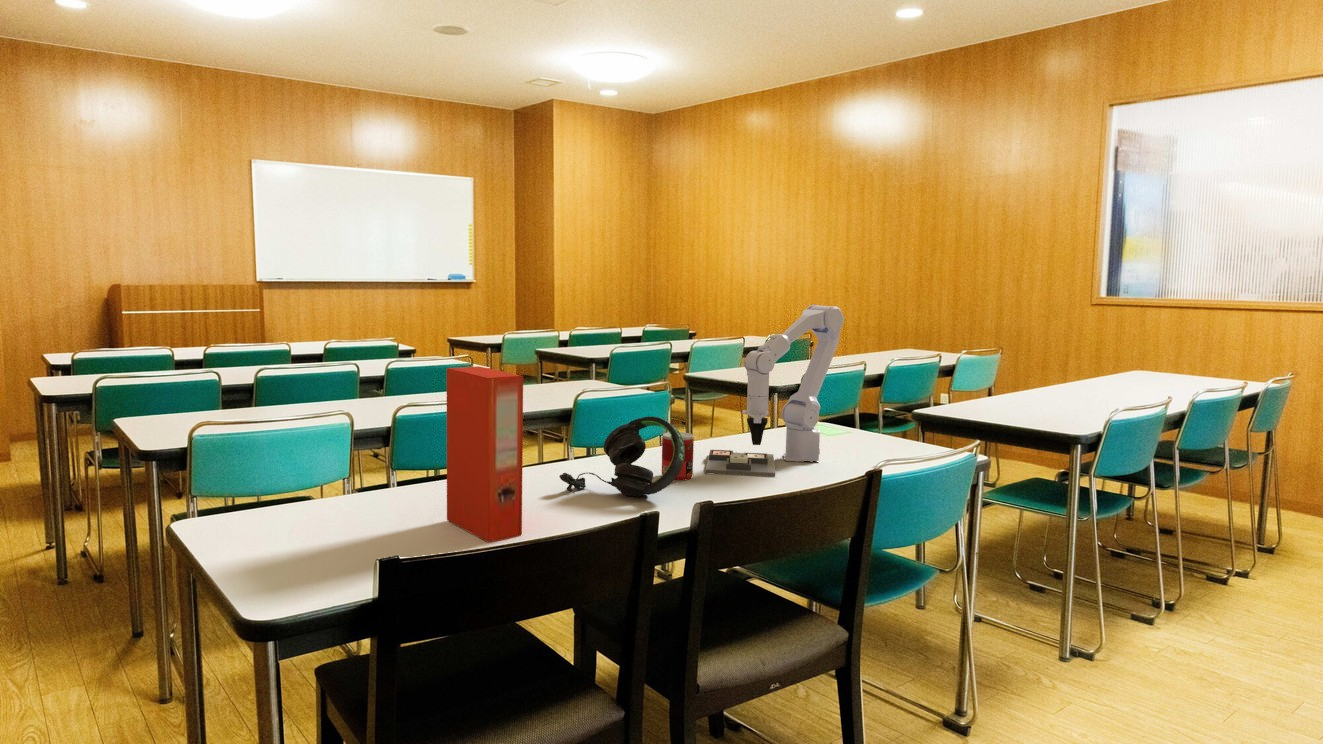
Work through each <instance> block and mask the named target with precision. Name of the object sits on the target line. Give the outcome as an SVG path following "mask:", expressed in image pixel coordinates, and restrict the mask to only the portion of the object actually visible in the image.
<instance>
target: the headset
mask: <svg viewBox="0 0 1323 744" xmlns="http://www.w3.org/2000/svg"><path fill="white" fill-rule="evenodd" d="M653 426H656V427H661V428H664V430H666V431H667V433H668V432H669V433H670V434H671V439H672V444H673V447H674V454H673V458H672V461H671V464H670V466H669V467H668V469H667V471H666V472H665V473H664V474H663V475H662V474H661V476H660V477H658V478H657V479H656V480H655V481H653V478H654V472H653V471H652V470H650V469H649V468H646V467H643V466H640V465H637V464H633V463H635V462H637V461H638V460H639V459H640V458H641V457H642V456H643V454H644V453H645V452H646V447H647V446H646V442H645V440H644V439H643V438H642V436H641V435H640V430H642V429H646V428H648V427H653ZM680 432H681V431H679V430H678V428H677V427H676V426H674V425H673V424H672V423H671V422H668V421H667V420H665V419H664V418H661V417H658V416H654V415H653V416H650V415H649V416H644V417H643V416H642V417H639V418H635V419H633V420H631V421H629V422H628V423H625V424H621V425H620V426H617V427H615V428H614V429H613V430H612V431H611V432H610V433H609V434H608V435H607V436H606V438H605V440H604V443H603V451H604V454H606V456H608V458H609V460H610V462H611V464H612V465H614V466H615V467H614V473H613V475H614V476H615V477H616V478H615V477H611V478H610V479H611V481H606V480H604V479H603V478H601V477H600V476H598V475H597V474H596V473H594V472H582V473H579V475H577V477H576V478H575V477H573V476H572V475H571V474H570V473H567V472H563V473H562V474H560V475H559V479H560V480H561V481H562V482H564V483H566V484H568V485H567V487H566V490H567V491H568V492H570V493H572V494H574V495H575V492H574V491H573V487H574V489H575V490H579V489H580V488H582V489H586V488H587V485H586V478H585V477H580V476H583V475H586V474H590V475H593V476H596V477H597V478H598V479H599V480H600V481H601V482H604V483H606V484H607V485H610V486H612V487H614V488H615V489H616V490H617V491H619V493H621V494H622V495H624V496H627V497H632V496H633V497H632V498H637V497H640V496H644V495H645V496H648V495H655V494H657V493H659V492H661V491H662V490H664V489H666V488H667V487H669V486H670V485H671V484H672V483H673V482H674V481H676V480H675V479H676V477H677V476H678V474H679V473H680V471H681V468H682V466H683V463H684V458H685V446H684V441H683V439H682V436H681V434H680Z"/></svg>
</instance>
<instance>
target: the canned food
mask: <svg viewBox="0 0 1323 744" xmlns="http://www.w3.org/2000/svg"><path fill="white" fill-rule="evenodd" d="M679 432H680V434H681V436H682V439H683V441H684V446H685V458H684V463H683V466H682V468H681V471H680V473H679V474H678V476H677V477H676V479H675V480H674V481H686V480H685V479H688V480H690V479H692V478H693V475H694V473H693V472H694V470H693V469H694V446H695V445H694V440H695V439H694V434H692V433H689V432H684V431H682V432H681V431H679ZM661 439H662V440H661V441H662V442H661V476H662V475H663V474H664V473H665V472H666V471H667V469H668V467H669V466H670V464H671V461H672V458H673V454H674V447H673V444H672V439H671V434H670V433H669V432H668V431H667V432H665V433H663V434H662V438H661ZM691 477H692V478H691Z"/></svg>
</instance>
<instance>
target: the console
mask: <svg viewBox="0 0 1323 744" xmlns="http://www.w3.org/2000/svg"><path fill="white" fill-rule="evenodd" d="M713 451H727V452H730V455H747V454H763V455H764V458H748V464H746V463H730V455H716V454H713ZM706 473H714V474H713V475H731V476H733V475H736V476H751V477H752V476H754V477H774V478H775V477H776V466H775V457H774V454H773V453H761V452H734V450H730V449H729V450H728V449H725V450H724V449H710V450H709V453H708V458H707V462H706V467H705V474H706Z"/></svg>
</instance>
